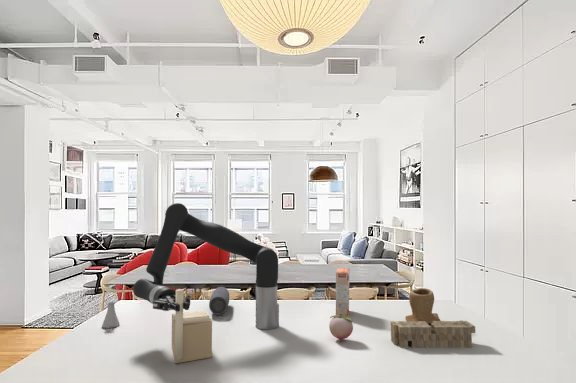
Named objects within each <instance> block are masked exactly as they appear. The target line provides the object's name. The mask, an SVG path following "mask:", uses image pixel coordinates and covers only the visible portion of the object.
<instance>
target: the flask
mask: <svg viewBox="0 0 576 383" xmlns="http://www.w3.org/2000/svg"><path fill="white" fill-rule="evenodd" d="M115 304H116V301H108V302H106V305H107V311H106V315H105V317H104V319H103V321H102V324H101V328H102V329H103V328H105V329H111V328H117V327H119V326H120V324H121V323H120V321H119V318H118V316H117V313H116V308H115Z"/></svg>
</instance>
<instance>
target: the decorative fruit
mask: <svg viewBox="0 0 576 383" xmlns="http://www.w3.org/2000/svg"><path fill="white" fill-rule="evenodd" d="M329 319H330V321H329V324H328V326H329V327H328V328H329V331H330V334H331V335H332V336H333V337H335V339H338V340H339V341H342V340H345V339H348V338H349V337H350V336H351V335H352V333H353V331H354V325H353V320H352V319H351V318H350V317H349V316H348V317H341V314H340V316H338V315H336V314H334V315H331V316H330V317H329Z"/></svg>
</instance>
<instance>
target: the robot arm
mask: <svg viewBox="0 0 576 383" xmlns="http://www.w3.org/2000/svg"><path fill="white" fill-rule="evenodd" d="M164 213H165V214H164V221H163V225H162V228H161V231H160V235H159V237H158V240H157V242H156V245H155V247H154V249H153V251H152V254H151V257H150V258H149V260H148V263H147V266H146V268H145V270H146V273H147V274H149V275H151V276H152V277H153V281H152V280H150V279H146V278H140V279H138V280H137V281H136V282H135V283H134V285H133V287H132V293H133V294H134V296H135V297H137V298H140V299H142V300H144V301H147V302H149V303H150V304H152V309H154V310H160V311H163V312H169V311H175V312H176V311H177V312H178V311H180V305H179V304H178V303H176V290H175V289H173V288H170V287H168V286H164V284H163V282H164V276H165V272H166V269H167V266H168V264H169V261H170V258H171V255H172V253H173V248H174V245H175V241H176V239H177V237H178V234H179V233H180V232H181V231H182V232H184V233H187V234H189V235H192V236H194V237H196V238H198V239H200V241H203V242H205V243H207V244H209V245H211V246H213V247H215V248H217V249H220V250H222V251H224V252H227V253H230V254H234V255H237V256H241V257H244V258H246V259H248V260H249V261H251V262H253V263H255V264H256V266H255V267H256V268H255V269H256V273H255V274H256V275H255V276H256V278H255V327H256V328H257V329H259V330H272V329H276V328H279V327H280V304H279V303H278V279H279V257H278V254H277V253H276V251H274V249H272V248H270V247H267V246H264V245H261V244H259V243H256V242H253V241H250V240H249V239H247V238H246V237H244V236H242V235H241V234H239V233H237V232H236V231H234V230H232V229H230V228H228V227H225V226H224V225H221V224H219V223H215V222H211V221H206V220H201V219H200V218H197V217H195V216H193V215H192V214H190V213H189V211H188V208H187V207H186V206H185V204H183V203H179V202H175V203H174V202H173V203H171V204H170V205H169V206H168V207H167V208H166V210H165V212H164ZM179 231H180V232H179ZM190 306H191V295H190V294H188V295H186V296H185V297H183V310H185V311H189V310H190Z"/></svg>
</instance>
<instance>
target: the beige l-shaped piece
mask: <svg viewBox="0 0 576 383" xmlns="http://www.w3.org/2000/svg"><path fill="white" fill-rule="evenodd" d="M175 291H176V303H178V304H179V305H180V311H178V312H177V311H175V314H176V317H175V358H174V364H181V363H187V362H191V361H192V362H193V361H198V360H204V359H209V358H212V357H213V321H212V322H207V323H199V324H192V325H184V326H183V313H184V309H183V298H184V289H183V288H181V289H176V290H175Z"/></svg>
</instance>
